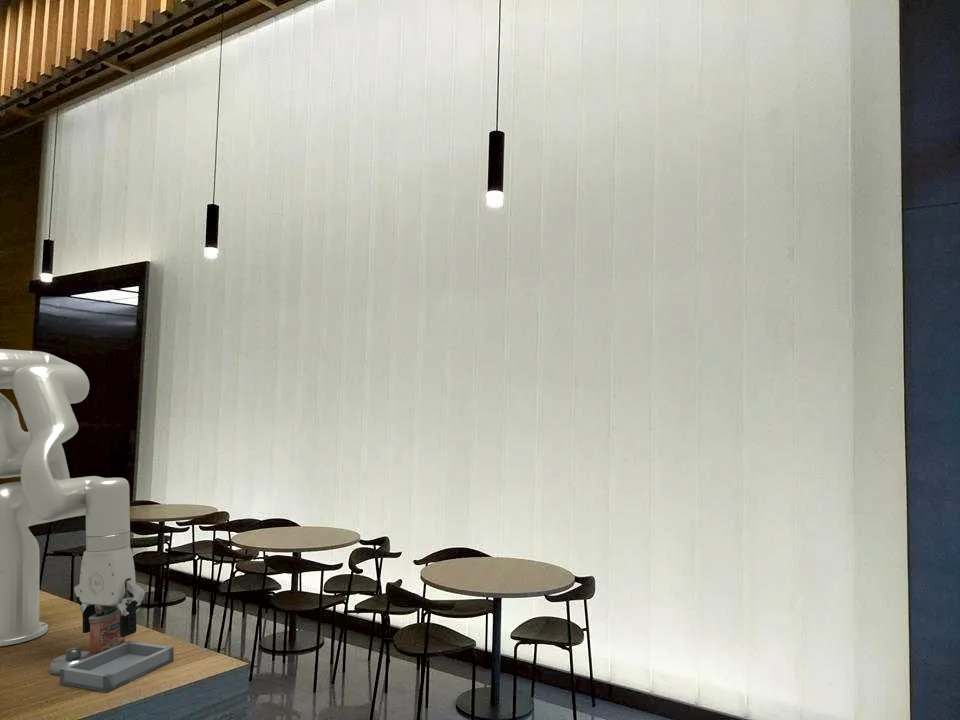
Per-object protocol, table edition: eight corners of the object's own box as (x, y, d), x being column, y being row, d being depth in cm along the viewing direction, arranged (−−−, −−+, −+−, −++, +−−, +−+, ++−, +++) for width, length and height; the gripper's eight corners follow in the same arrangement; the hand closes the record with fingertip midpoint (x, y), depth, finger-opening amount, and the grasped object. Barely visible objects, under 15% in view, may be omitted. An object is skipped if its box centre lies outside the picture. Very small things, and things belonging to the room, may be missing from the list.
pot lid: (41, 672, 122) (41, 654, 122) (77, 658, 128) (77, 640, 128) (69, 677, 119) (69, 658, 119) (104, 662, 126) (104, 644, 126)
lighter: (99, 659, 127) (99, 605, 128) (84, 659, 128) (84, 604, 128) (130, 644, 135) (130, 592, 135) (115, 643, 136) (115, 592, 136)
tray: (59, 684, 116) (59, 669, 116) (129, 654, 129) (129, 640, 129) (107, 692, 112) (107, 676, 112) (173, 660, 125) (173, 647, 126)
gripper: (58, 545, 132) (59, 635, 131) (125, 548, 126) (126, 643, 125) (93, 537, 139) (94, 623, 138) (157, 540, 133) (159, 630, 132)
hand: (109, 632), depth 131 cm, fingers open, 9 cm apart
